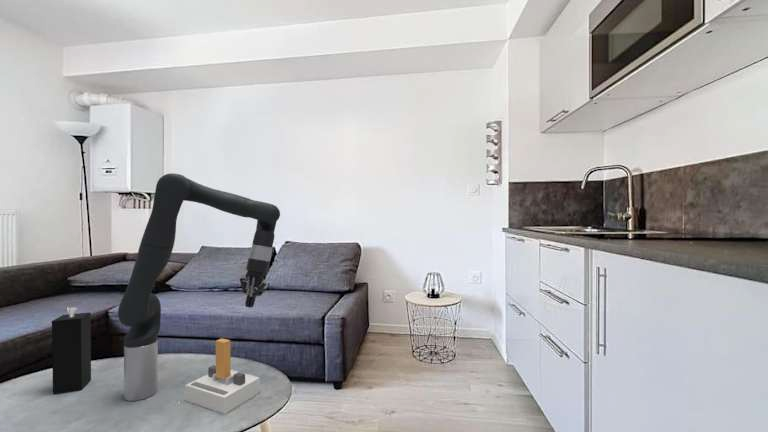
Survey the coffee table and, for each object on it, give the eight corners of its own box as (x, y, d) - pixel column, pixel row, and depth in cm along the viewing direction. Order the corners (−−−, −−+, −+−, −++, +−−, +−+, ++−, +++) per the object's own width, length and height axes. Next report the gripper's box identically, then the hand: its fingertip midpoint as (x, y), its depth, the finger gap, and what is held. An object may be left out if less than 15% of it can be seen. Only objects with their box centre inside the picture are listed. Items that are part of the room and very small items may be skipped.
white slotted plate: (185, 400, 111) (185, 375, 111) (222, 381, 124) (222, 359, 124) (224, 414, 104) (224, 387, 103) (259, 392, 116) (259, 368, 116)
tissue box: (81, 390, 118) (80, 308, 118) (52, 394, 115) (51, 311, 115) (91, 380, 125) (90, 303, 125) (63, 384, 122) (63, 305, 122)
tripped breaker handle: (215, 379, 113) (215, 340, 113) (222, 376, 116) (221, 338, 116) (224, 382, 112) (224, 342, 112) (230, 379, 114) (230, 340, 114)
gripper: (238, 255, 125) (227, 303, 122) (265, 260, 119) (254, 311, 116) (254, 257, 131) (244, 303, 129) (280, 262, 125) (270, 310, 123)
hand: (249, 307), depth 122 cm, fingers closed
